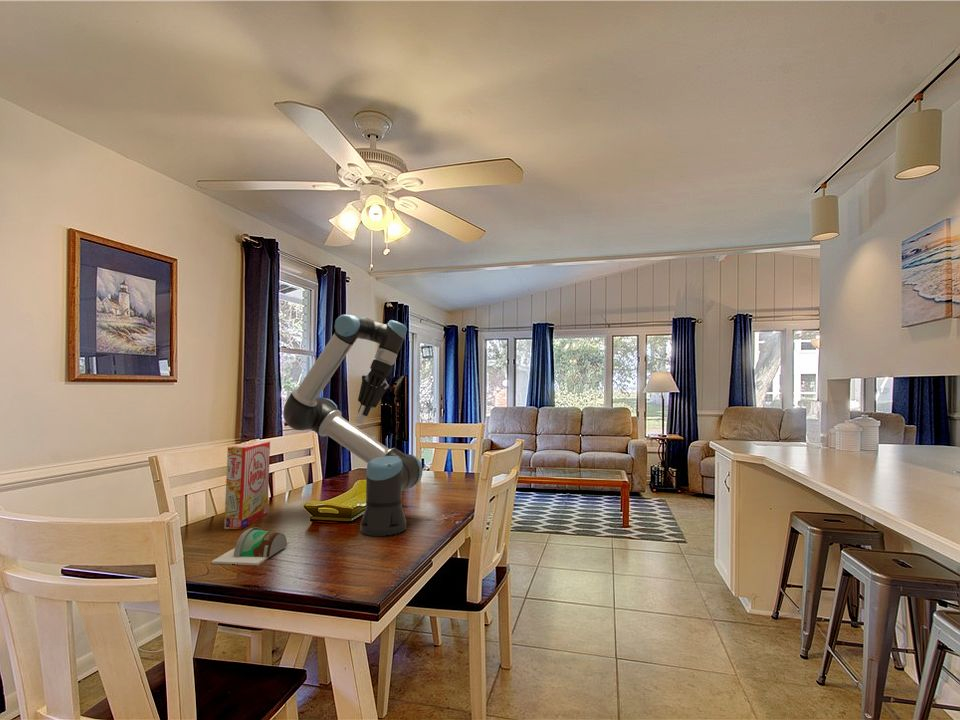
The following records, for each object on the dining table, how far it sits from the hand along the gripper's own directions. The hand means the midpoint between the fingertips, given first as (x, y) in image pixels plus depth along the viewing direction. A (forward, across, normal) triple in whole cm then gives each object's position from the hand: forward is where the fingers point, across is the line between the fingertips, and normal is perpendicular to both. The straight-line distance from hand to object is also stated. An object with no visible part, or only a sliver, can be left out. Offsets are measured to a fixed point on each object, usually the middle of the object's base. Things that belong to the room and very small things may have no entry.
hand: (358, 423), depth 178 cm
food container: (+36, +16, -28) cm, 48 cm away
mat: (+42, +10, -30) cm, 53 cm away
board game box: (+45, -21, -12) cm, 51 cm away
